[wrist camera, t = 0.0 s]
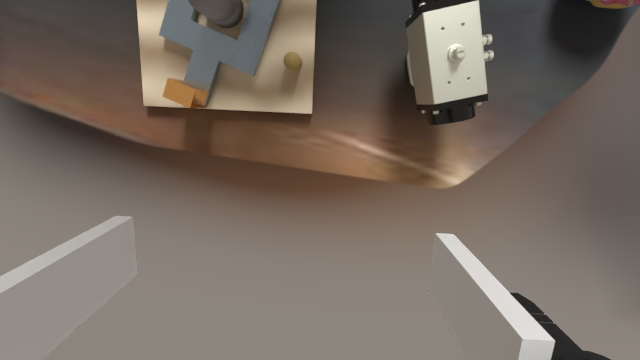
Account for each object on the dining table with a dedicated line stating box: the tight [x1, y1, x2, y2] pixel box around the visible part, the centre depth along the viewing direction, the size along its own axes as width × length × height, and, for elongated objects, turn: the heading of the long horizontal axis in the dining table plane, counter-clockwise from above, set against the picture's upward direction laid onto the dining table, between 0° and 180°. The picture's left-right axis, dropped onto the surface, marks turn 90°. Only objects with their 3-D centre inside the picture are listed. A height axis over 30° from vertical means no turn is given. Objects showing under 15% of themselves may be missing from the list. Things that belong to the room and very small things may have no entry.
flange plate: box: [159, 0, 282, 108], centre depth 35 cm, size 16×11×5 cm, turn 157°
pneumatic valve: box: [405, 0, 494, 125], centre depth 33 cm, size 6×12×12 cm, turn 12°
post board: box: [137, 0, 317, 114], centre depth 35 cm, size 22×20×7 cm
